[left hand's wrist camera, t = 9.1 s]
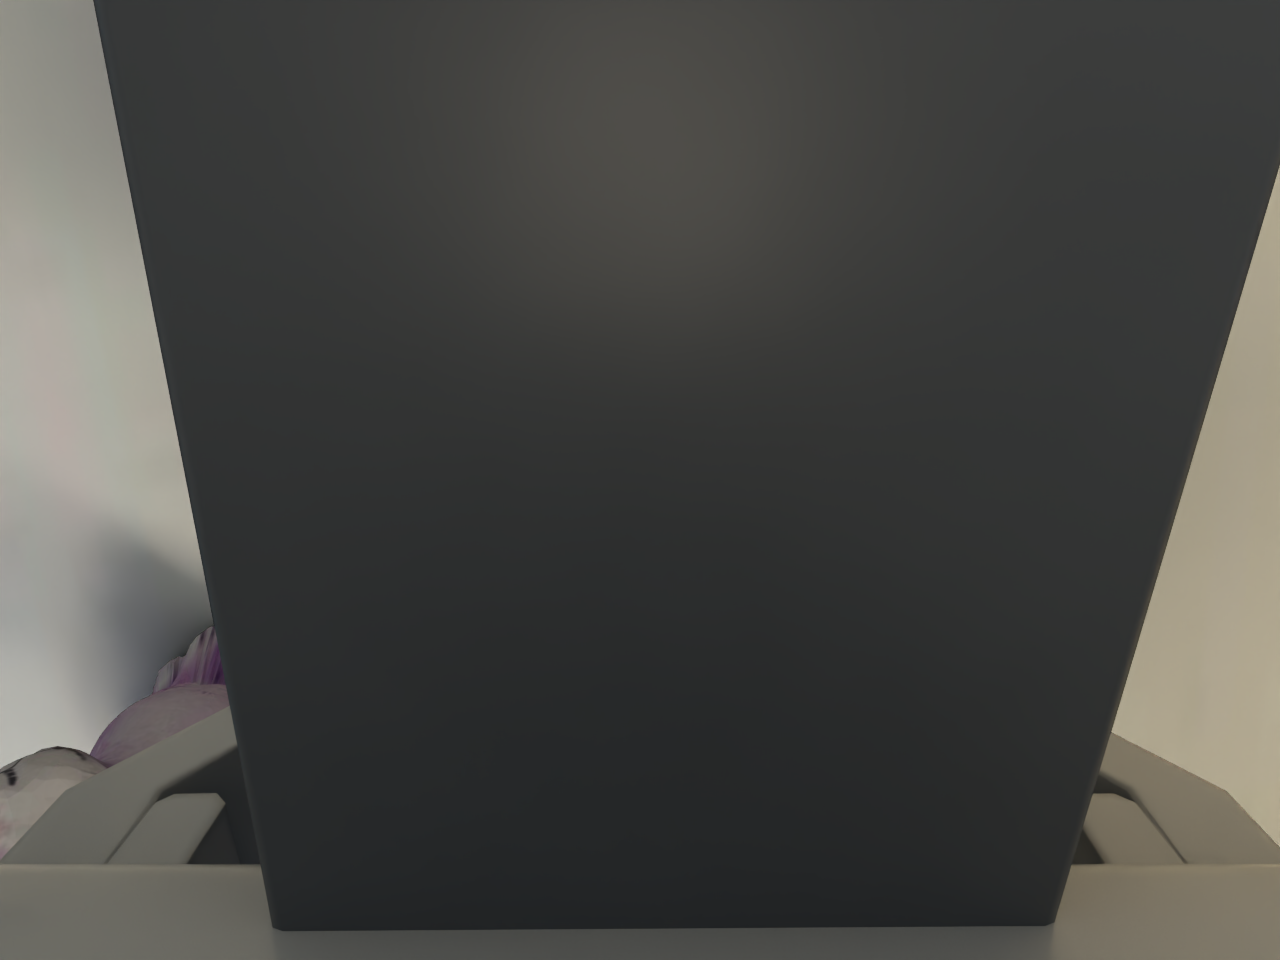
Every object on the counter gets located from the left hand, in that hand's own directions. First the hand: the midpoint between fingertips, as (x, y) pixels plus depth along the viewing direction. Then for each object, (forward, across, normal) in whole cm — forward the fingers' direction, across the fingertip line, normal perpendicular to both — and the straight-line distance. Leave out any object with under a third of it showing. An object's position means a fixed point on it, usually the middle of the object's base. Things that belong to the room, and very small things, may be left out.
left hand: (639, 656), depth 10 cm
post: (+3, -1, -27) cm, 27 cm away
